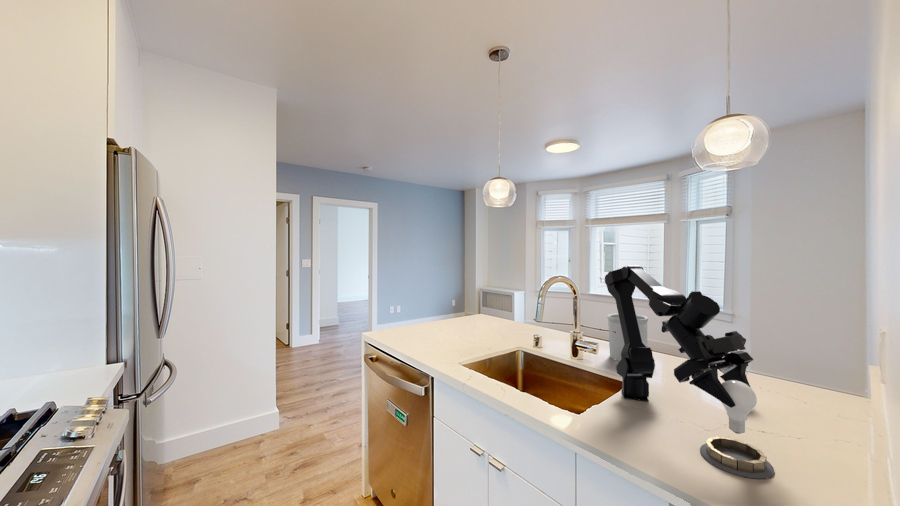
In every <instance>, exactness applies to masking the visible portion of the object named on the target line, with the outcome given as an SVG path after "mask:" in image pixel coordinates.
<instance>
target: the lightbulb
mask: <svg viewBox="0 0 900 506" xmlns="http://www.w3.org/2000/svg"><path fill="white" fill-rule="evenodd" d="M721 384H722V385H723V387H724V388H725V390H726V391H727V392H728V394H729V395H730V397H731V398H732V400H733V402H734V403H735V406H734V407H732V408H731V407H729V406H727V405H726V404H724V403H723V402H721V401H720V403H721V405H723V407H724V408H725V411H726V415H727V417H728V429H729V430H730V431H732V432H733V433H735V434H736V435H737V434H739V435H741V434H744V433H746V421H747V419H748V416H749V413H750V412H752V411H753V409H755V407H756V406H757V403H758V400H757V394H756V393H755V391H754V390H753V388H751V386H750V387H749V386H748V385H747V384H745V383H743V382H741V381H737V380H728V381H723V382H721Z"/></svg>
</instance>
